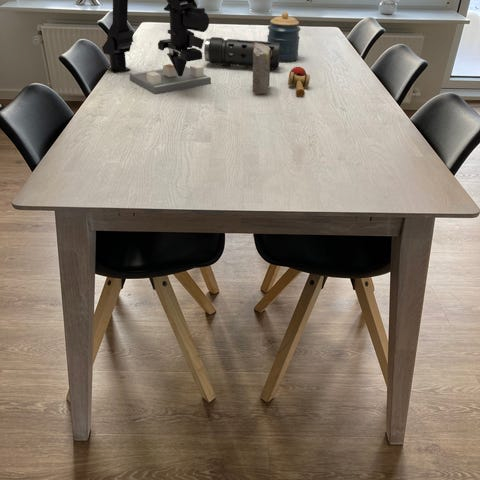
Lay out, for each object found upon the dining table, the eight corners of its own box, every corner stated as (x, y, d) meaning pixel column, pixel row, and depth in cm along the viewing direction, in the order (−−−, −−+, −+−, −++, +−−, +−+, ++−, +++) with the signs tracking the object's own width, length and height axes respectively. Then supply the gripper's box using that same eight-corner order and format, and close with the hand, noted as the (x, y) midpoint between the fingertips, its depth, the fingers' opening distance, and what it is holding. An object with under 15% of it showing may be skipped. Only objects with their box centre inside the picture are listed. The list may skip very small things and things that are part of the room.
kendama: (313, 101, 174) (309, 78, 187) (312, 84, 170) (307, 61, 183) (290, 104, 175) (287, 81, 188) (288, 87, 171) (285, 64, 184)
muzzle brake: (277, 73, 195) (279, 45, 189) (203, 68, 198) (203, 39, 192) (279, 66, 203) (281, 39, 197) (208, 61, 206) (208, 34, 200)
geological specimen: (267, 96, 172) (270, 49, 164) (249, 94, 173) (251, 48, 165) (270, 86, 181) (273, 41, 173) (252, 85, 182) (254, 40, 173)
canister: (298, 63, 208) (303, 16, 198) (266, 62, 207) (269, 14, 198) (296, 54, 218) (300, 9, 209) (265, 53, 218) (268, 8, 208)
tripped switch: (163, 74, 181) (162, 64, 179) (170, 72, 183) (170, 63, 181) (169, 77, 179) (168, 67, 177) (176, 75, 180) (176, 66, 178)
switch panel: (129, 79, 182) (128, 65, 179) (183, 70, 194) (183, 56, 191) (155, 94, 170) (154, 78, 168) (210, 83, 182) (210, 69, 179)
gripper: (216, 30, 165) (215, 79, 173) (184, 19, 177) (186, 66, 186) (186, 34, 159) (187, 84, 168) (156, 22, 171) (158, 70, 180)
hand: (180, 76), depth 175 cm, fingers closed
